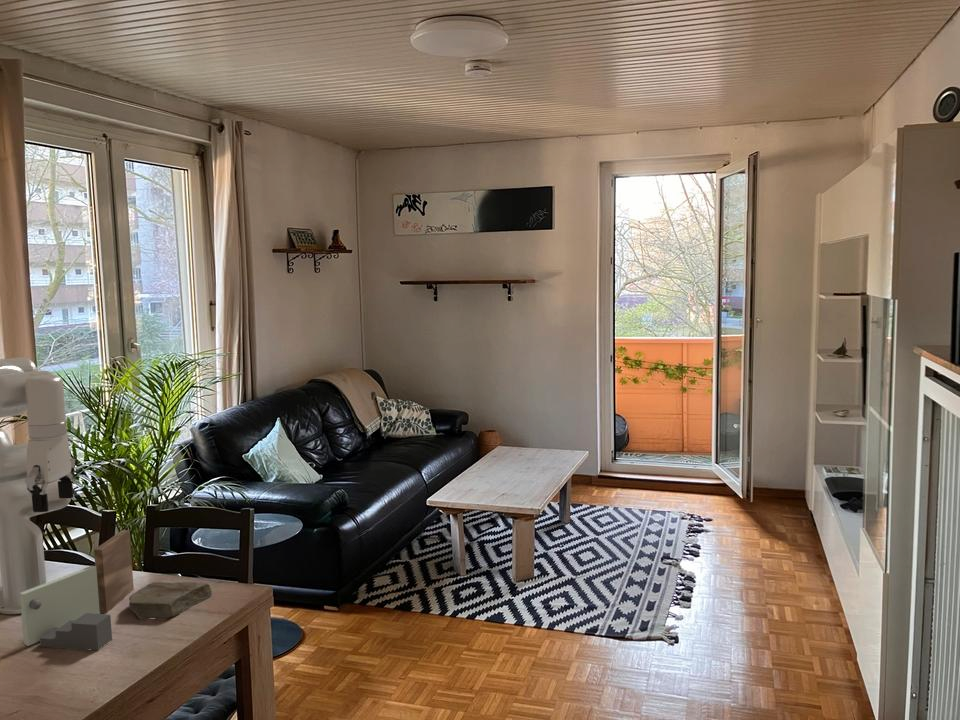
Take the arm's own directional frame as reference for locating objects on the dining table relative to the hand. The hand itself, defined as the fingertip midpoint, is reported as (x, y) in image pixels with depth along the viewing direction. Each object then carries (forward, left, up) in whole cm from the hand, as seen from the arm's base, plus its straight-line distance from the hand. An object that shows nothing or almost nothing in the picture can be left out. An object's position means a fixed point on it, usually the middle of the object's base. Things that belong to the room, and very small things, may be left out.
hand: (53, 504), depth 175 cm
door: (0, 0, -30) cm, 30 cm away
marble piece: (+18, +14, -31) cm, 38 cm away
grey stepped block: (+6, -5, -30) cm, 31 cm away
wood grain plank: (+4, +16, -30) cm, 35 cm away
